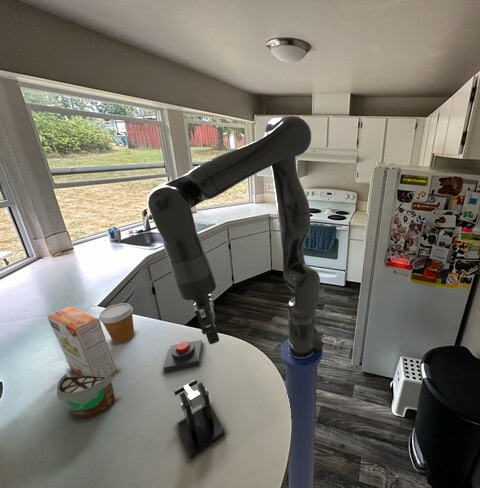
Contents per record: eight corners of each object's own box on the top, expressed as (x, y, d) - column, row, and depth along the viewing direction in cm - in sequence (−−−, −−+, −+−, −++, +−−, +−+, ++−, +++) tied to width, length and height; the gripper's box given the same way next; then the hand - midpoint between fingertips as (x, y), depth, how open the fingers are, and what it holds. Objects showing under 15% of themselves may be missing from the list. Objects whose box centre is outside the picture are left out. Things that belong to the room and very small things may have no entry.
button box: (202, 344, 91) (201, 335, 89) (199, 365, 82) (197, 356, 81) (171, 350, 88) (169, 341, 86) (164, 373, 79) (162, 363, 78)
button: (190, 344, 86) (189, 340, 85) (188, 352, 83) (187, 348, 82) (178, 346, 85) (177, 342, 84) (176, 354, 81) (175, 350, 81)
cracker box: (69, 370, 78) (45, 315, 71) (92, 357, 84) (72, 304, 76) (95, 387, 73) (72, 330, 66) (118, 371, 79) (99, 317, 71)
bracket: (178, 425, 64) (169, 390, 60) (209, 405, 70) (203, 371, 65) (191, 459, 58) (181, 421, 53) (225, 434, 63) (219, 398, 58)
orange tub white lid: (127, 326, 98) (119, 300, 94) (145, 332, 96) (138, 305, 91) (100, 342, 90) (90, 315, 86) (119, 349, 87) (110, 321, 83)
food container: (53, 423, 64) (39, 395, 60) (75, 400, 69) (63, 373, 66) (103, 423, 64) (92, 395, 61) (121, 400, 70) (111, 374, 66)
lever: (175, 396, 66) (172, 388, 66) (197, 384, 70) (195, 376, 69) (185, 414, 57) (182, 404, 57) (209, 398, 60) (207, 389, 60)
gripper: (212, 281, 52) (232, 343, 57) (210, 260, 64) (227, 312, 70) (172, 293, 49) (197, 356, 55) (178, 268, 62) (198, 322, 67)
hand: (213, 332), depth 62 cm, fingers open, 8 cm apart
